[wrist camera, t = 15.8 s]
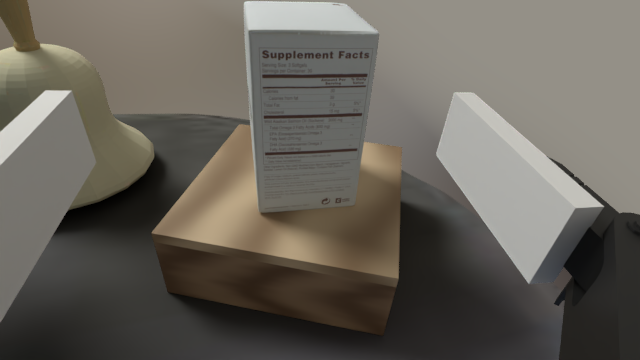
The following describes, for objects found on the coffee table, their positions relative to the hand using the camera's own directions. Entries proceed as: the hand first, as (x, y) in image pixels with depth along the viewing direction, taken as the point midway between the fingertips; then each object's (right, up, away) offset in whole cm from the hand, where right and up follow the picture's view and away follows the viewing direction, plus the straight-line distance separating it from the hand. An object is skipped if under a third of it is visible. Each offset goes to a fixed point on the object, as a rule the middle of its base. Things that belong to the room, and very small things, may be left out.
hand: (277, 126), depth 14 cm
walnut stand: (0, -7, +20) cm, 21 cm away
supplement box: (0, -2, +16) cm, 17 cm away
